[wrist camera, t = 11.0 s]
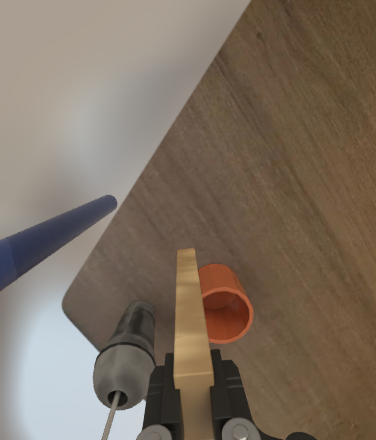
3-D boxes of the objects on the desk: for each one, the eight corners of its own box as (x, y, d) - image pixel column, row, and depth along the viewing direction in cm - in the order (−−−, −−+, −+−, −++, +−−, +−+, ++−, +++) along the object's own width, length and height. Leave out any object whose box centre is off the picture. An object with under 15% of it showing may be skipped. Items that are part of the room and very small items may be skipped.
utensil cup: (191, 312, 42) (193, 346, 34) (187, 265, 40) (188, 290, 32) (240, 307, 42) (254, 341, 34) (238, 261, 40) (252, 285, 32)
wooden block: (180, 283, 25) (181, 443, 11) (177, 249, 24) (173, 376, 10) (197, 282, 25) (218, 439, 11) (194, 247, 24) (213, 372, 10)
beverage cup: (170, 304, 41) (161, 429, 22) (151, 340, 43) (126, 488, 23) (129, 285, 41) (80, 399, 21) (110, 322, 42) (48, 462, 22)
